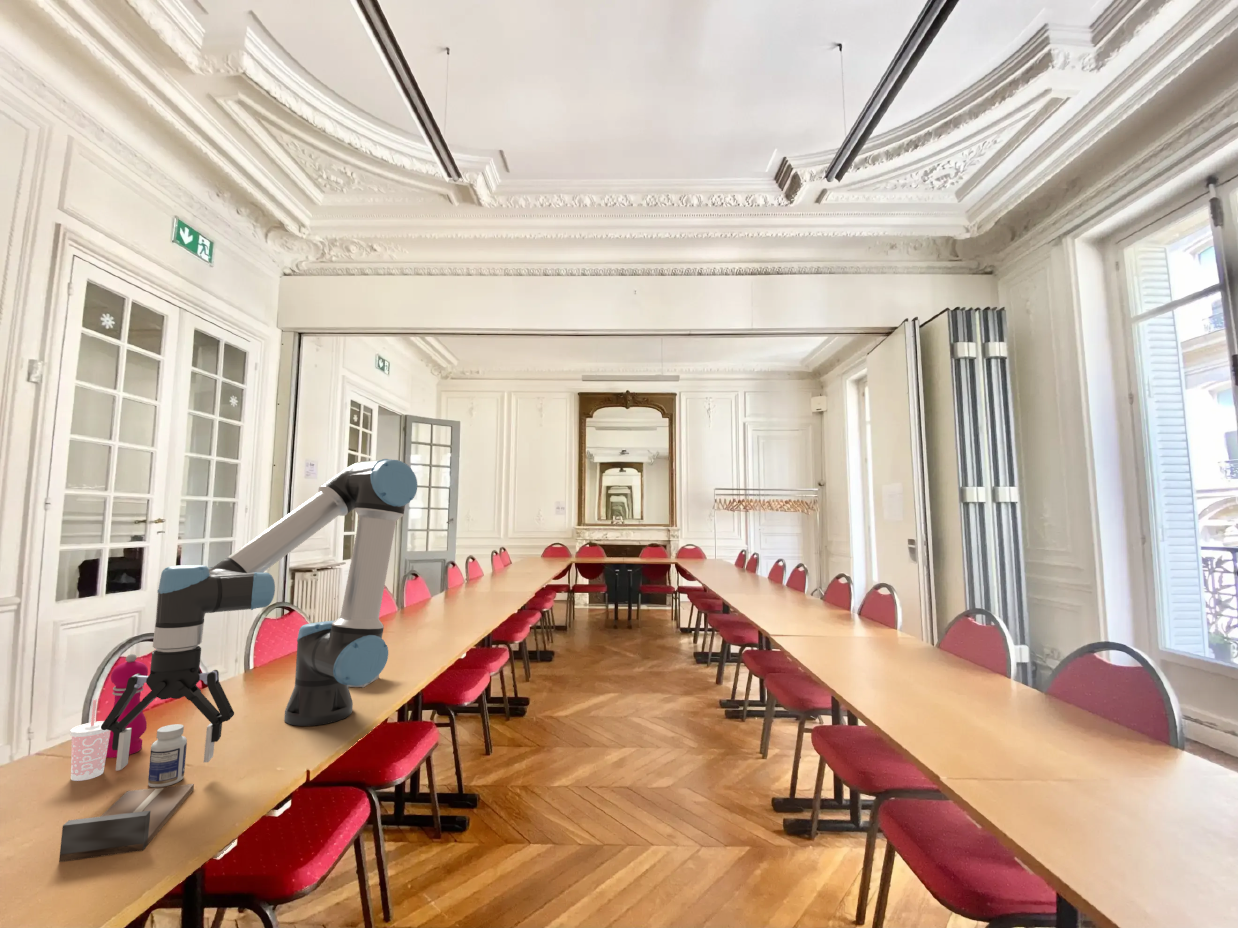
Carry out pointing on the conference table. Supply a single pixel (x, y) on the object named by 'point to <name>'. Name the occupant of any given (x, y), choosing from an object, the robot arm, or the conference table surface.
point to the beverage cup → (88, 749)
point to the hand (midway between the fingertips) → (165, 763)
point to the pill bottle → (167, 756)
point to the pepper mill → (120, 681)
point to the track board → (122, 824)
